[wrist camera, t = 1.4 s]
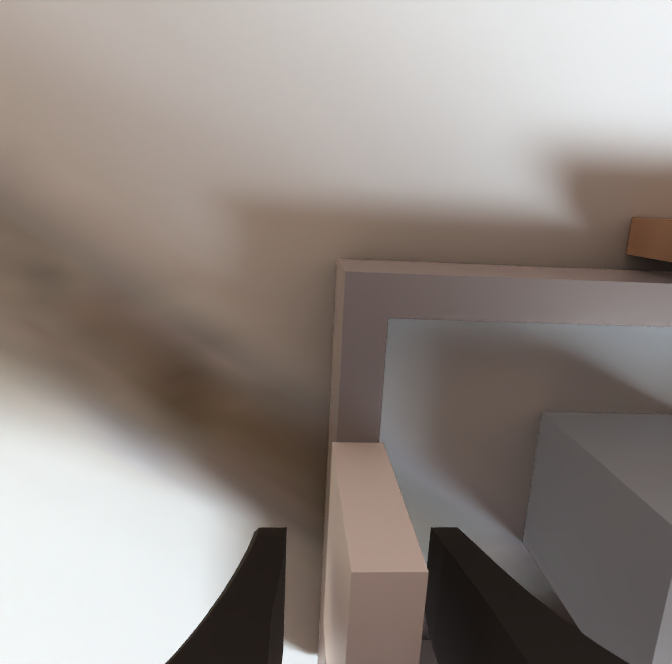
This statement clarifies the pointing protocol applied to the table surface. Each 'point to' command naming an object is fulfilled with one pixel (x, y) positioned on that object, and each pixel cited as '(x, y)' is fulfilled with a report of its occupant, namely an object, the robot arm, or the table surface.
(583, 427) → the grey block
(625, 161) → the table surface
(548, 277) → the grey square tray
